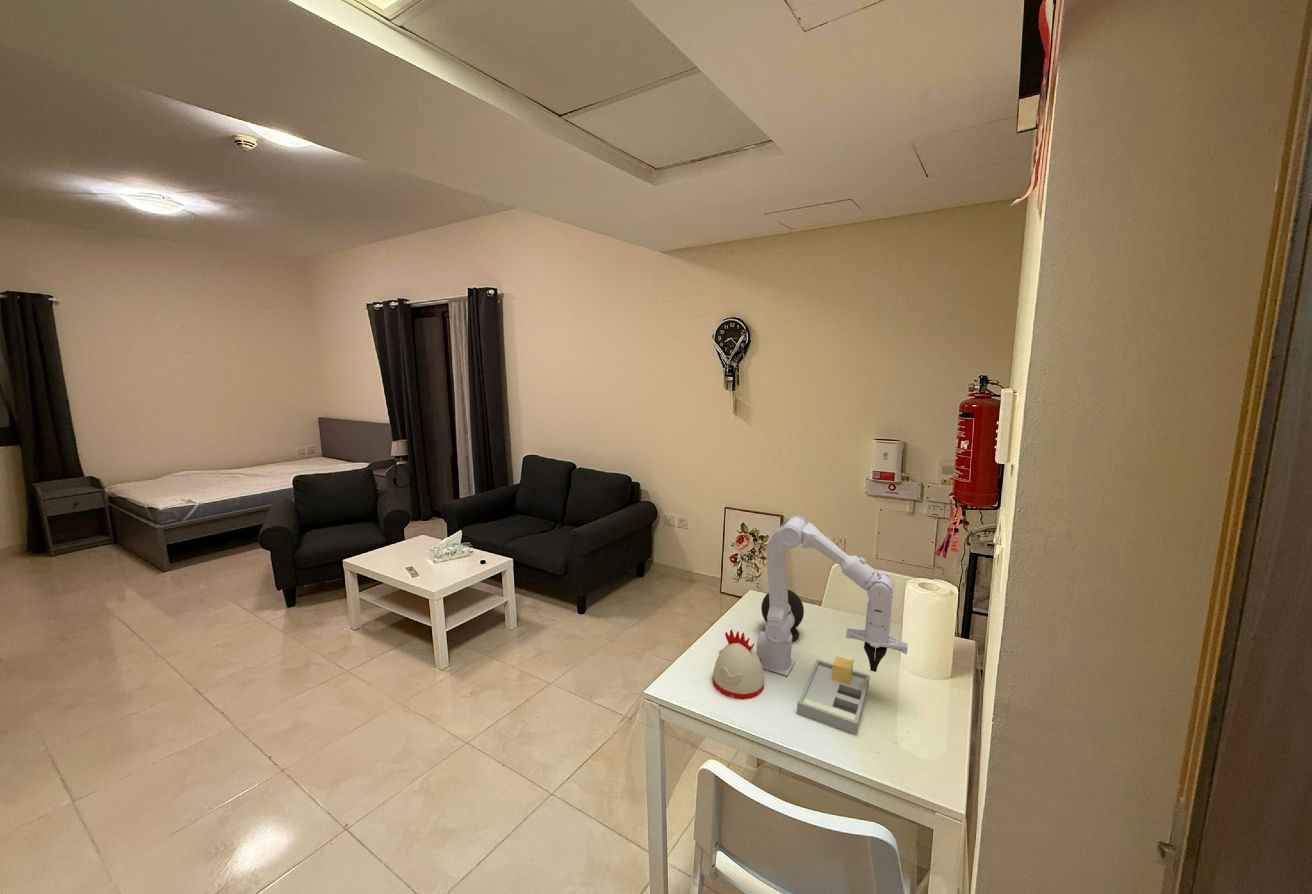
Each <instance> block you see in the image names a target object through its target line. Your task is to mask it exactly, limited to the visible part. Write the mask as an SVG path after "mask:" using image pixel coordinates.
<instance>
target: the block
mask: <svg viewBox="0 0 1312 894" xmlns="http://www.w3.org/2000/svg"><path fill="white" fill-rule="evenodd" d="M832 664H833V669H832V680H834V681H838V682H841V683H844V684H847V685H850V681H851V678H852V672H853V669H854V660H852V659H848V658H845V657H842V656H841V657H840V656H838V655H837V656H835V657H834V661H833V663H832Z"/></svg>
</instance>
